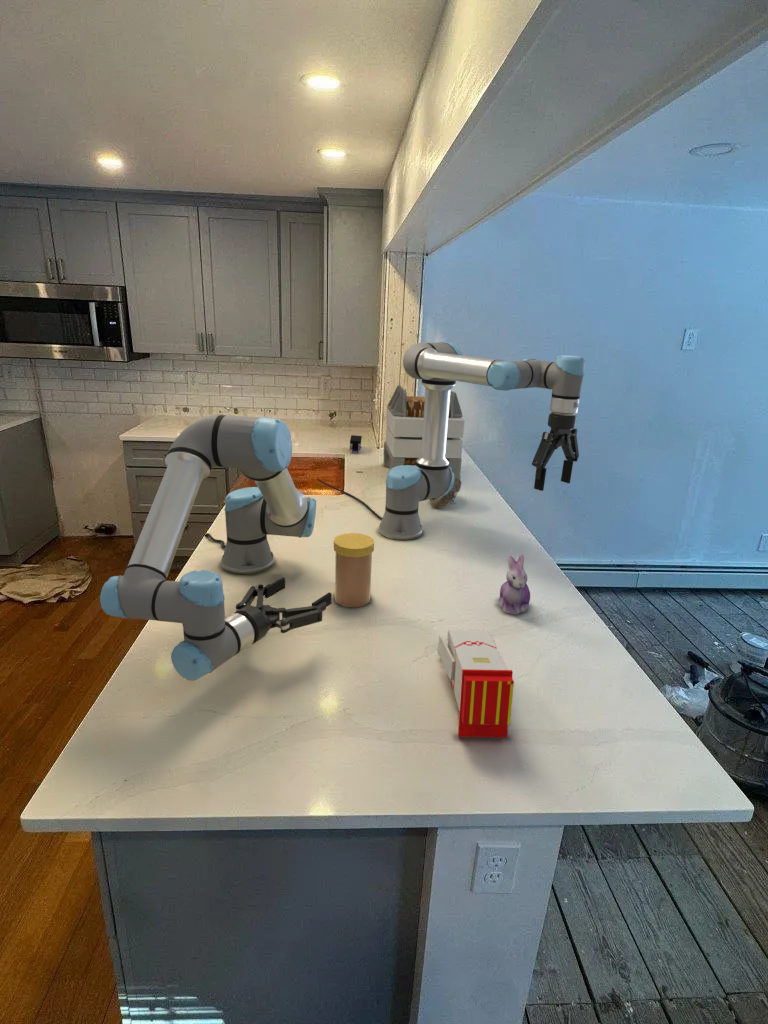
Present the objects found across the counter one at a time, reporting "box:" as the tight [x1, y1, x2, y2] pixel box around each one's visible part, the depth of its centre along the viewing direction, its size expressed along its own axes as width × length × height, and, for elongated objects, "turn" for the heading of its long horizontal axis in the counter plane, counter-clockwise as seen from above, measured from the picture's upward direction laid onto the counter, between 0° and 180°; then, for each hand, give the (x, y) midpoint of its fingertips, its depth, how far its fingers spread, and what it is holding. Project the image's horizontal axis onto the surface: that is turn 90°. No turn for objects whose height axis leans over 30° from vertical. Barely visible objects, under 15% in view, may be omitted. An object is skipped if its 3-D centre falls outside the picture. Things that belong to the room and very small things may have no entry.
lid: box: [333, 532, 375, 557], centre depth 149 cm, size 11×11×2 cm
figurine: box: [498, 553, 531, 615], centre depth 151 cm, size 9×10×15 cm
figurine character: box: [349, 434, 363, 454], centre depth 310 cm, size 7×8×15 cm
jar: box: [334, 552, 373, 608], centre depth 151 cm, size 10×10×17 cm
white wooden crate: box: [383, 384, 465, 480], centre depth 268 cm, size 34×33×41 cm
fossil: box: [429, 477, 462, 509], centre depth 234 cm, size 22×10×15 cm
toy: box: [437, 628, 515, 738], centre depth 117 cm, size 12×13×30 cm
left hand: (306, 590), depth 133 cm, fingers open, 13 cm apart
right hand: (552, 485), depth 166 cm, fingers open, 13 cm apart
